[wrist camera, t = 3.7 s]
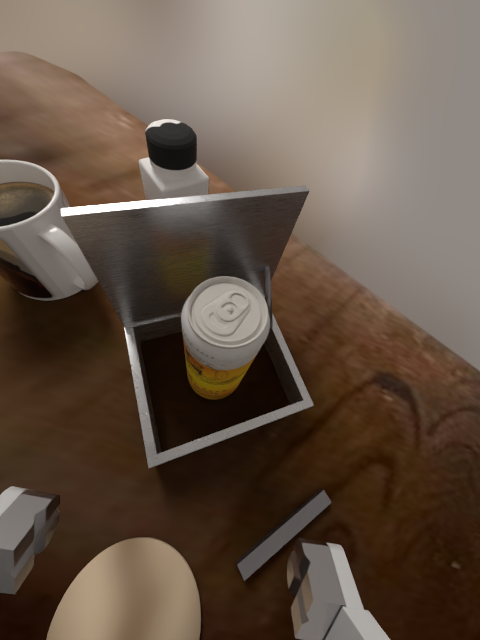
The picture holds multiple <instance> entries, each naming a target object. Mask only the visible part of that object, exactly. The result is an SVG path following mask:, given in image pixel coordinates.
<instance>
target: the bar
mask: <svg viewBox="0 0 480 640" xmlns="http://www.w3.org/2000/svg"><path fill="white" fill-rule="evenodd" d="M330 503H332V502H331V501H330V499H329V498H328V496H327V494H326V493H325V491H324V490H322V489H320V490H318V491H317V492H316V493H315V494H314V495H313V496H311V497H310V498H309V499H308V500H307V501H305V502H304V503H303V504H302V505H301V506H300V507H298V508H297V509H296V510H295V511H294V512H293V513H291V514H290V515H289V516H288V517H287V518H286V519H284V520H283V521H282V522H281V523H280V524H279V525H277V526H276V527H275V528H274V529H273V530H271V531H270V532H269V533H268V534H267V535H266V536H264V537H263V538H262V539H261V540H260V541H259V542H257V543H256V544H255V545H254V546H253V547H252V548H250V549H249V550H248V551H247V552H246V553H245V554H243V555H242V556H241V557H240V558H239V559H238V560H236V563H237V566H238V568H239V570H240V572H241V575H242V577H243V579H244V581H245V580H246V579H247V578H248V577H249V576H251V575H252V574H253V573H254V572H255V571H256V570H257V569H258V568H259V567H261V566H262V565H263V564H264V563H265V562H266V561H267V560H268V559H269V558H271V557H272V556H273V555H274V554H275V553H276V552H277V551H278V550H279V549H281V548H282V547H283V546H284V545H285V544H286V543H287V542H288V541H289V540H291V539H292V538H293V537H294V536H295V535H296V534H297V533H298V532H299V531H301V530H302V529H303V528H304V527H305V526H306V525H307V524H308V523H309V522H310V521H312V520H313V519H314V518H315V517H316V516H317V515H318V514H319V513H320V512H322V511H323V510H324V509H325V508H326V507H327V506H328V505H329V504H330Z"/></svg>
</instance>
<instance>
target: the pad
mask: <svg viewBox="0 0 480 640" xmlns="http://www.w3.org/2000/svg"><path fill="white" fill-rule="evenodd" d="M200 629H201V609H200V598H199V592H198V588H197V584H196V580H195V578H194V575H193V573H192V570H191V569H190V567H189V565H188V563H187V562H186V560H185V559H184V558H183V556H182V555H181V554H180V553H179V552H178V551H177V550H176V549H175V548H174V547H172V546H171V545H170V544H168V543H166V542H164V541H162V540H159V539H156V538H151V537H135V538H130V539H126V540H123V541H120V542H118V543H116V544H114V545H112V546H110V547H108V548H107V549H105V550H104V551H102V552H101V553H100V554H98V555H97V556H96V557H95V558H94V559H93V560H91V561H90V562H89V563H88V564H87V565H86V566H85V568H84V569H83V570H82V571H81V572H80V573H79V574H78V576H77V577H76V578H75V579H74V581H73V582H72V583H71V585H70V586H69V588H68V590H67V591H66V593H65V594H64V596H63V598H62V600H61V602H60V604H59V606H58V608H57V610H56V612H55V615H54V617H53V620H52V623H51V626H50V629H49V632H48V635H47V639H46V640H199V638H200Z"/></svg>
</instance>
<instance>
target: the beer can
mask: <svg viewBox="0 0 480 640" xmlns="http://www.w3.org/2000/svg"><path fill="white" fill-rule="evenodd" d="M181 324H182V333H183V342H184V350H185V359H186V368H187V376H188V381H189V384H190V386H191V387H192V389H193V390H194V391H195V392H196V393H197V394H198V395H200V396H202V397H204V398H207V399H213V400H215V399H222V398H225V397H227V396H229V395H230V394H231V393H233V392H234V391H235V389H236V388H237V387H238V385H239V383H240V382H241V380H242V378H243V377H244V375H245V373H246V372H247V370H248V368H249V367H250V365H251V363H252V362H253V360H254V358H255V357H256V355H257V353H258V352H259V350H260V348H261V347H262V345H263V343H264V342H265V340H266V338H267V336H268V333H269V329H270V317H269V313H268V307H267V304H266V301H265V299H264V297H263V296H262V294H261V293H260V292H259V291H258V290H257V289H256V288H255V287H254V286H253V285H251V284H250V283H248V282H246V281H244V280H242V279H239V278H235V277H229V276H221V277H215V278H211V279H208V280H206V281H204V282H203V283H201V284H200V285H198V286H197V287H196V288H195V289H194V291H193V292H192V293H191V295H190V296H189V297H188V299H187V300H186V302H185V304H184V306H183V309H182V314H181Z"/></svg>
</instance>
